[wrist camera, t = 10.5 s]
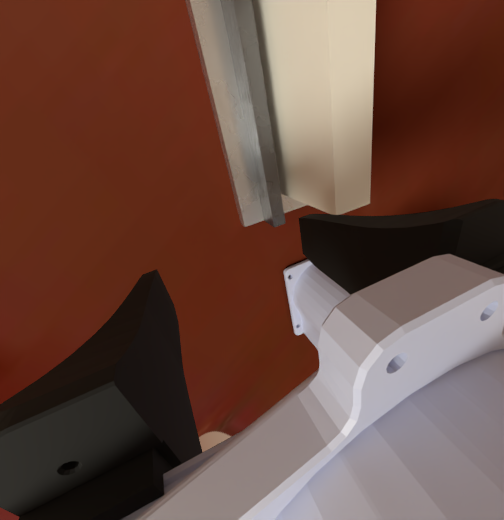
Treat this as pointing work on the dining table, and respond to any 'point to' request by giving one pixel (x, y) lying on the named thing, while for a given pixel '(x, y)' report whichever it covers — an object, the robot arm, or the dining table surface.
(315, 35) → the door panel
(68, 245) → the dining table surface
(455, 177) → the dining table surface
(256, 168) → the bottom track
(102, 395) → the robot arm
